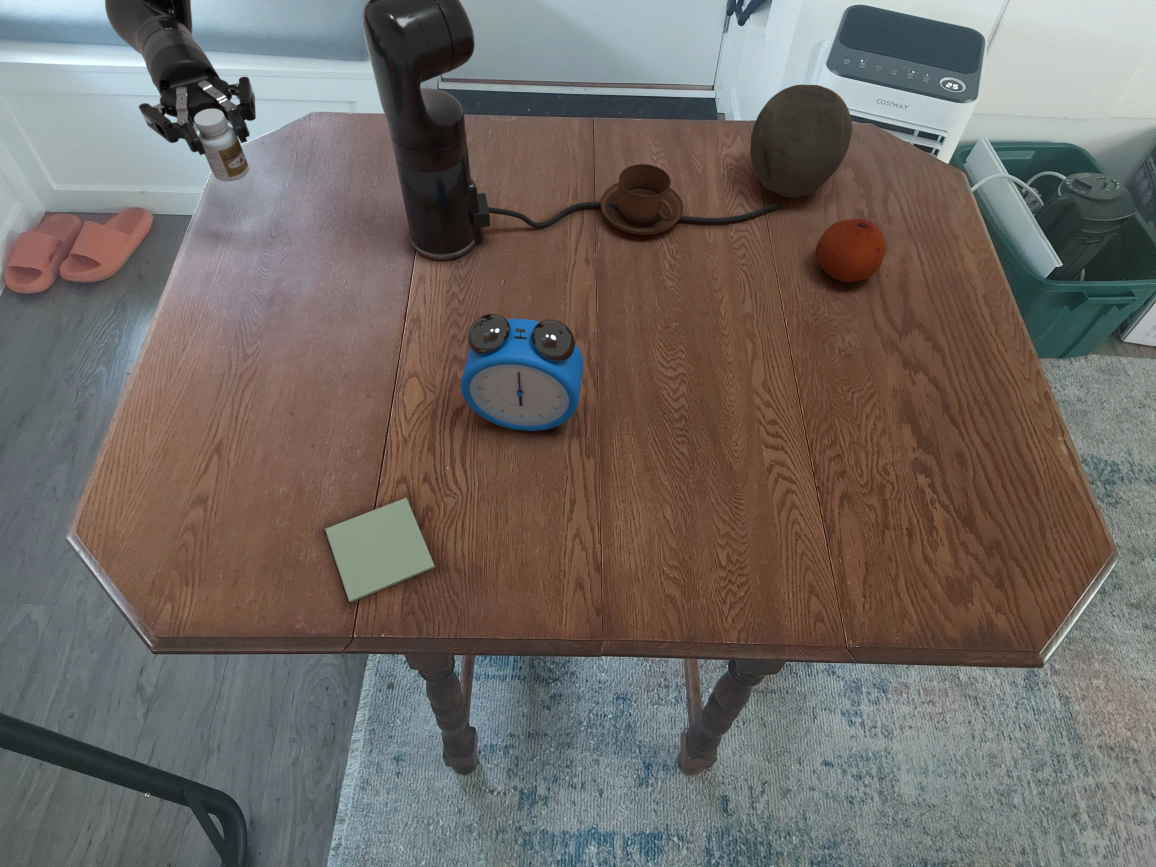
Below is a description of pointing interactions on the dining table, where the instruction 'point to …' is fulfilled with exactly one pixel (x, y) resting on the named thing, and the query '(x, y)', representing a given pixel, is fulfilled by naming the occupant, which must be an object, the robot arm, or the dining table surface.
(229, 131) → the pill bottle
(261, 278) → the dining table surface
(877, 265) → the fruit
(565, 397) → the alarm clock
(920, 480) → the dining table surface
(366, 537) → the coaster
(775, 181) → the kiwi
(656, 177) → the cup and saucer
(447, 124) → the robot arm
